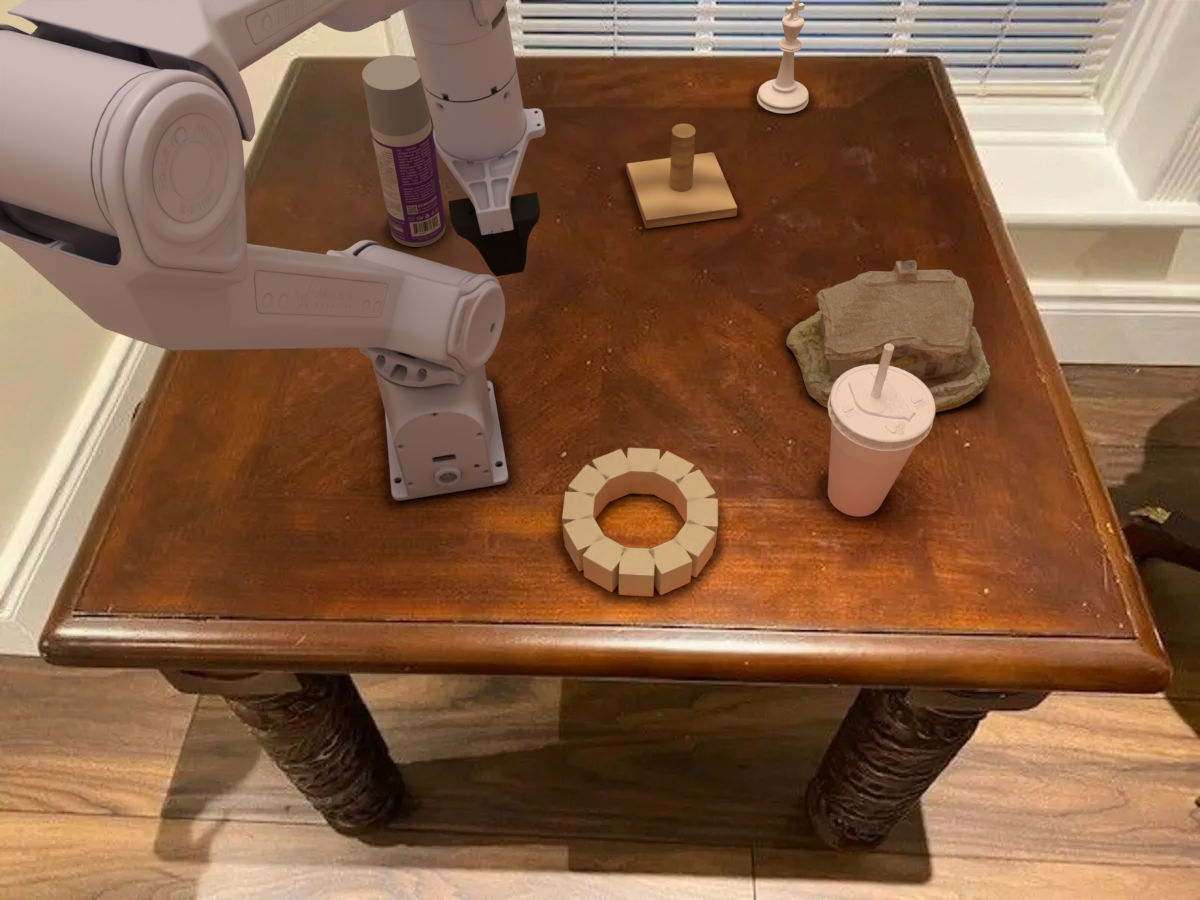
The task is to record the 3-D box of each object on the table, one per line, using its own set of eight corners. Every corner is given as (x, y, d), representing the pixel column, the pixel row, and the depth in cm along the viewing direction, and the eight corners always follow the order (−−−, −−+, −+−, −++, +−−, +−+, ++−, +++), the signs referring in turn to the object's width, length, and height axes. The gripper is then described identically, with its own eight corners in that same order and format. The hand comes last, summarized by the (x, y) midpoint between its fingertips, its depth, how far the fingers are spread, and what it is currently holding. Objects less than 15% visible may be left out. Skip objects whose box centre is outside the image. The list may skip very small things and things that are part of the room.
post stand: (736, 216, 89) (743, 152, 84) (645, 229, 88) (647, 165, 83) (712, 161, 94) (718, 97, 88) (626, 172, 93) (626, 108, 88)
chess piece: (747, 92, 100) (758, -8, 92) (791, 79, 101) (805, -20, 94) (773, 119, 97) (786, 18, 90) (818, 105, 99) (835, 5, 91)
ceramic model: (794, 421, 74) (814, 321, 67) (781, 312, 81) (798, 210, 74) (991, 423, 74) (1035, 323, 66) (962, 313, 81) (998, 211, 73)
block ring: (734, 582, 66) (738, 560, 64) (577, 610, 65) (576, 589, 63) (695, 459, 72) (697, 436, 70) (552, 482, 71) (549, 459, 69)
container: (450, 212, 90) (429, 56, 78) (440, 249, 87) (416, 93, 75) (397, 208, 90) (368, 51, 78) (385, 245, 87) (353, 88, 75)
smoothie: (839, 442, 73) (877, 297, 62) (920, 488, 71) (975, 344, 60) (789, 500, 70) (820, 358, 59) (872, 550, 68) (920, 411, 57)
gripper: (551, 142, 58) (573, 298, 69) (520, -15, 65) (545, 149, 77) (425, 163, 57) (469, 316, 69) (409, 3, 65) (451, 165, 77)
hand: (502, 229), depth 73 cm, fingers open, 7 cm apart
